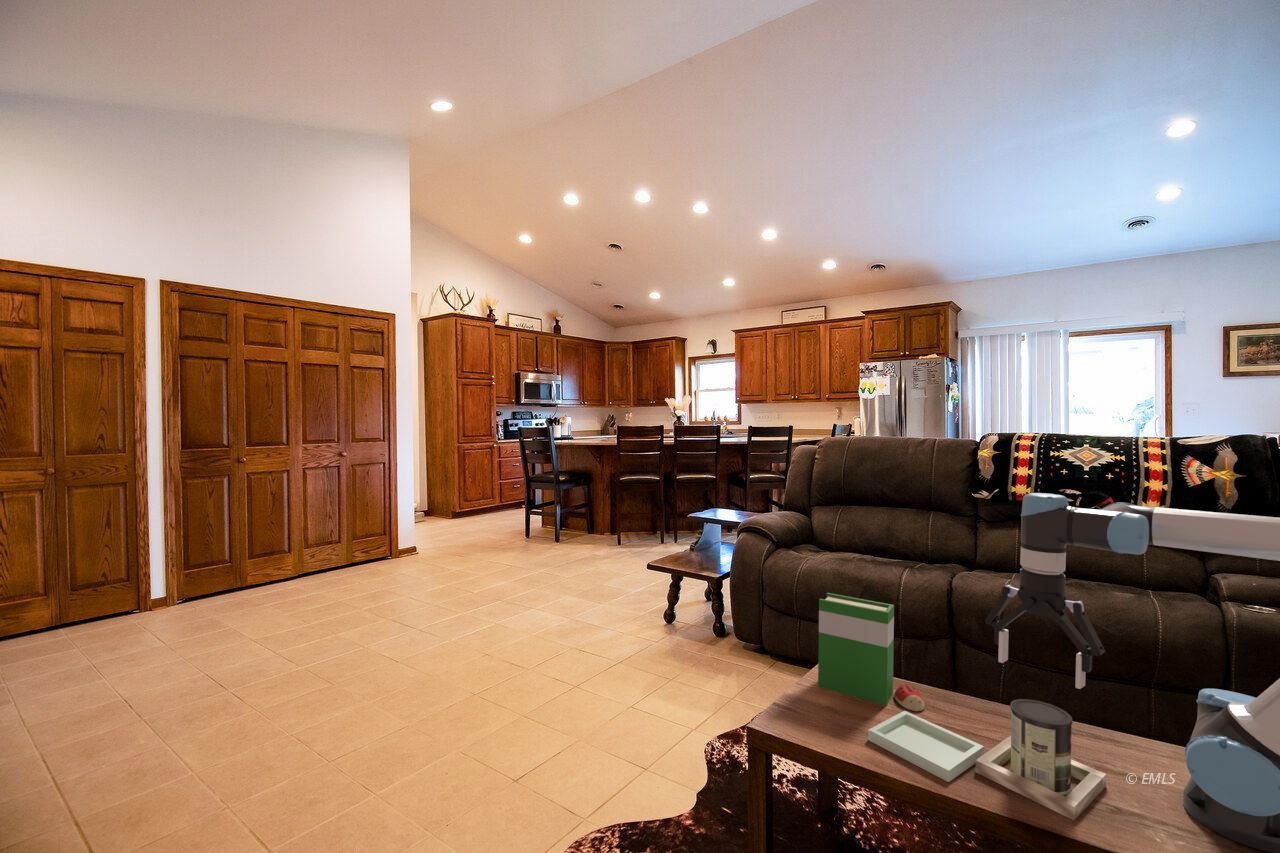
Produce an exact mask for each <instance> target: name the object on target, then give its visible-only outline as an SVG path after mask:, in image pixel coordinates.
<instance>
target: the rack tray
mask: <svg viewBox="0 0 1280 853" xmlns="http://www.w3.org/2000/svg"><path fill="white" fill-rule="evenodd" d="M867 732H868V736H867V738H868V739H867V740H868V741H869V742H871V743H873V744H876V745H877V746H879V747H881V748H882V749H885V750H887V751H888V752H890V753H892V754H894V755H896V756H898V757H900V758H901V759H903V760H905V761H907V762H909V763H911V764H913V765H915V766H917V767H919V768H921V769H922V770H924V771H926V772H928V773H930V774H932V775H934V776H936V777H938V778H939V779H941V780H943V781H945V782H947V783H950V782H952V781H953V780H954V779H955V778H957V777H959V776H960V775H961V774H962V773H964V772H965V771H967V770H968V769H969V768H970V767H972V766H973V765H976V760H977V759H978V758H980V757H981V756H982V755H984V754H985V746H984V745H982V744H979V743H978V742H975V741H974V740H973V741H972V740H971V739H969V738H966V737H965V736H962V735H960V734H958V733H955V732H954V731H951V730H949V729H946V728H944V727H942V726H940V725H937V724H935V723H933V722H931V721H928V720H927V719H924V718H922V717H920V716H919V715H918V716H917V715H915V714H913V713H911V712H909V711H906V710H903V711H901V712H899V713H897V714H895V715H893V716H891V717H889V718H888V719H886V720H884V721H882V722H880V723H879V724H877V725H875V726H873V727H871V728H869V729H868V731H867Z"/></svg>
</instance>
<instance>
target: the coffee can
mask: <svg viewBox="0 0 1280 853" xmlns="http://www.w3.org/2000/svg"><path fill="white" fill-rule="evenodd" d="M1010 709H1011V710H1010V711H1011V712H1010V735H1011V758H1010V768H1009V771H1011V772H1013V773H1015V774H1018V775H1020V776H1022V777H1024V778H1026V779H1028V780H1030V781H1033V782H1035V783H1037V784H1039V785H1041V786H1043V787H1045V788H1048V789H1050V790H1052V791H1054V792H1056V793H1058V794H1060V795H1063V796H1067V795H1068V794H1069V793H1070V792H1071V791H1072V776H1071V759H1072V725H1073V717H1072V716H1071V715H1070V714H1069V713H1068V712H1067V711H1065V710H1064V709H1062V708H1060V707H1059V706H1056V705H1054V704H1051V703H1047V702H1045V701H1041V700H1037V699H1030V698H1029V699H1028V698H1019V699H1014V700H1012V701H1011V702H1010Z"/></svg>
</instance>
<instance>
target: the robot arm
mask: <svg viewBox="0 0 1280 853" xmlns="http://www.w3.org/2000/svg"><path fill="white" fill-rule="evenodd" d="M1069 504H1070V503H1069V502H1068V497H1066V496H1065V495H1061V494H1055V493H1046V492H1045V493H1044V492H1043V493H1042V492H1031V493H1030V492H1029V493H1027V494H1025V495H1024V496H1023V498H1022V506H1021V514H1020V517H1021V518H1020V520H1021V521H1020V522H1021V524H1020V525H1021V526H1020V529H1021V530H1020V531H1021V532H1020V536H1021V537H1020V539H1021V541H1020V559H1019V560H1020V561H1019V565H1021V568H1020V569H1019V588H1017V587H1014V585H1012V584H1007V585H1004V586H1002V588H1001V594H1000V596H999V598H998V600H997V601H996V603H995V604H994V605H993V607H992V609H991V610H990V612H989V613H988V614H987V616H986V618H985V619H984V623H985V624H986V625H987V626H991V627H992V628H993V631H994V635H993V636H994V637H993V638H994V639H993V640H994V641H993V642H994V644H995V645H998V661H997V662H998V663H1001V664H1003V663H1005V662H1007V661H1009V637H1010V636H1009V629H1006V627H1008V625H1009V624H1010V623H1012V622H1014V621H1015V620H1016V619H1018V617H1020V616H1021V615H1023V614H1024V613H1025V612H1029V614H1031V615H1034V616H1040V617H1043V618H1046V619H1049V618H1051V619H1052V620H1053V621H1055V623H1056V624H1058V626H1059V627H1060V628H1061V630H1062V631H1063V632H1064V633H1065V635H1066V636H1067V637H1068V638H1069V639H1070V641H1071V642H1072V644H1073V645H1074V646H1075V647H1076V648H1077V650H1078V653H1076V655H1075V656H1076V657H1075V682H1074V683H1075V688H1076V689H1079V690H1081V689H1082V688H1084V687H1086V673H1090V672H1091V671H1092V669H1093V657H1094V656H1096V657H1101V656H1102V655H1103V654H1104V653H1106V650H1105V648H1104V644H1102V642H1101V640H1100V638H1099V635H1098V634H1097V632H1096V630H1095V628H1094V626H1093V625H1092V623H1091V621H1090V620H1091V619H1090V618H1089V617H1088V615H1087V611H1086V610H1087V609H1086V604H1085V602H1084V601H1083V600H1078V601H1076V600H1075V601H1074V600H1068V599H1067V598H1066V575H1065V573H1064V572H1066V567H1067V565H1066V564H1067V562H1066V561H1067V545H1070V546H1078V547H1083V548H1088V549H1094V550H1095V549H1096V550H1101V551H1102V550H1103V551H1106V552H1107V551H1108V552H1114V553H1117V554H1128V555H1129V554H1131V555H1143V554H1145V552H1146V551H1147V550H1148V546H1158V547H1167V548H1174V549H1182V550H1183V549H1184V550H1192V551H1198V552H1206V553H1213V554H1214V553H1215V554H1221V555H1229V556H1230V555H1231V556H1237V557H1240V556H1241V557H1247V558H1254V559H1262V560H1269V561H1270V560H1271V561H1279V562H1280V517H1277V516H1276V517H1274V516H1265V515H1253V514H1250V515H1249V514H1239V513H1229V512H1214V511H1204V510H1193V509H1191V510H1190V509H1182V508H1181V509H1179V508H1171V507H1170V508H1168V507H1160V506H1159V507H1157V506H1156V507H1154V506H1143V505H1136V504H1133V503H1129V502H1113V503H1110V504H1108V505H1106V506H1104V507H1102V508H1101V509H1097V508H1096V509H1094V508H1086V507H1085V508H1084V507H1083V508H1082V507H1075V506H1071V505H1069ZM1015 596H1017V597H1018V599H1019V600H1020V602H1021V604H1019V605H1018V606H1016V607H1015V609H1013V610H1012V611H1010V612H1009V613H1008V614H1007V615H1005V616H1004V617H1003V618H1002V619H1001V618H1000V620H998V618H999V617H1000V616H1001V614H1002V612H1003V611H1005V610H1004V609H1005V608H1006V607H1007V605H1008V604H1009V602H1010V600H1012V598H1015ZM1066 607H1067V608H1068V609H1069V611H1071V613H1072V614H1073V616H1074V618H1075V621H1076V623H1077V624H1078V627H1079V629H1080V631H1081V632H1082V634H1083V635H1082V634H1081V633H1080V631H1079V630H1078V629H1077V628H1076V627H1075V625H1074V624H1073V623H1072V621H1071V620H1070V618H1069V616H1068V615H1067V613H1066V612H1065V611H1064V610H1065V608H1066ZM1196 703H1197V717H1196V721H1195V725H1194V729H1193V731H1192V733H1191V736H1190V739H1189V742H1188V743H1187V744H1186V747H1185V748H1184V749H1185V750H1184V751H1185V752H1184V757H1185V764H1186V767H1187V770H1188V772H1189V776H1190V778H1189V779H1188V781H1187V783H1186V785H1185V787H1184V789H1183V790H1182V791H1183V793H1182V805H1183V808H1184V809H1185V811H1186V812H1187V813H1188V814H1189V815H1190V816H1191V817H1192V818H1194V819H1195V820H1196V821H1197V822H1199V823H1200V824H1201V825H1203V826H1204V827H1206V828H1208V829H1209V830H1212V831H1213V832H1214V833H1216V834H1219V835H1220V836H1223V837H1225V838H1227V839H1229V840H1231V841H1234V842H1236V843H1238V844H1241V845H1245V846H1246V847H1249V848H1253V849H1256V850H1259V851H1263V852H1267V853H1280V677H1279V678H1278V679H1277V680H1275V681H1274V683H1273V684H1271V685H1270V686H1269V687H1268V688H1267V689H1266V690H1264V691H1263V692H1261V693H1260V694H1259V695H1258V696H1257V697H1255V696H1252V695H1247V694H1243V693H1239V692H1235V691H1230V690H1225V689H1219V688H1202V689H1200V690H1199V692H1198V696H1197V699H1196Z"/></svg>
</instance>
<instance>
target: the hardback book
mask: <svg viewBox="0 0 1280 853" xmlns="http://www.w3.org/2000/svg"><path fill="white" fill-rule="evenodd" d="M825 597H826V598H825V599H823V598H819V599H818V658H817V659H818V662H817V663H818V664H817V665H818V666H817V667H818V668H817V669H818V671H817V672H818V673H817V675H818V676H817V677H818V678H817V680H818V681H817V684H818V685H817V687H819V688H823V689H826V690H830V691H834V692H837V693H840V694H843V695H848V696H850V697H855V698H858V699H862V700H865V701H869V702H872V703H875V704H879V705H883V706H886V707H887V706H888V704H889V702H890V701H891V700H892V697H893V694H894V648H895V647H894V646H895V645H894V642H895V641H894V636H895V633H894V630H895V629H894V628H895V604H891V603H885V602H879V601H873V600H869V599H864V598H858V597H854V596H847V595H843V594H837V593H831V592H827V593H826V596H825Z"/></svg>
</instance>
